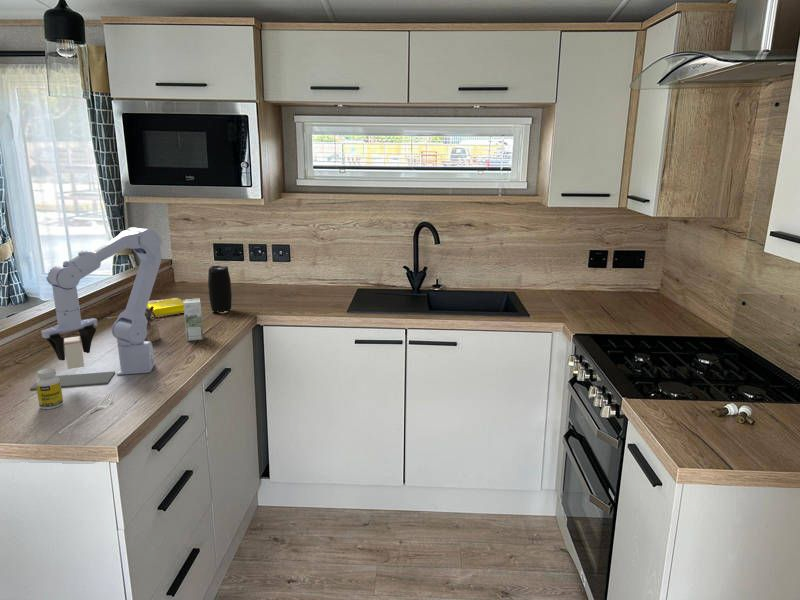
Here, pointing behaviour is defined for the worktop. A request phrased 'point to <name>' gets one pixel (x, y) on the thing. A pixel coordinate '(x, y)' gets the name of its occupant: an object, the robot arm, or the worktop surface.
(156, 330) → the figurine
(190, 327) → the syrup box
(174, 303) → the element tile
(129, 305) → the robot arm
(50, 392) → the supplement bottle
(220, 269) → the portable speaker
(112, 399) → the fork
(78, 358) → the card box
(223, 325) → the worktop surface
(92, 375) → the rubber mat
